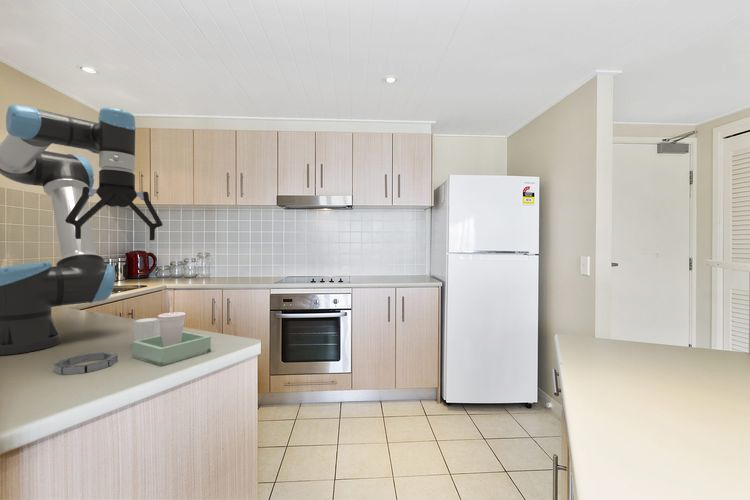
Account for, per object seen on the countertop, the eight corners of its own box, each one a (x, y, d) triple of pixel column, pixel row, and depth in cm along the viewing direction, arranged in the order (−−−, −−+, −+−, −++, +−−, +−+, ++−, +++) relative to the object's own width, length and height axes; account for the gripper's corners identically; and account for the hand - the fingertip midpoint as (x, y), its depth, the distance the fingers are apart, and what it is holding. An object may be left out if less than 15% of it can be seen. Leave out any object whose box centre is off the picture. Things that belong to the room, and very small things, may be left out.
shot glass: (150, 347, 97) (150, 322, 97) (126, 347, 98) (126, 322, 97) (166, 340, 104) (165, 317, 104) (143, 340, 104) (143, 317, 104)
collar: (47, 368, 81) (47, 362, 81) (102, 355, 90) (102, 349, 90) (67, 377, 75) (67, 370, 75) (124, 362, 85) (124, 356, 85)
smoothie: (178, 346, 96) (178, 295, 95) (190, 350, 92) (190, 297, 92) (153, 352, 90) (152, 298, 90) (164, 356, 87) (164, 300, 86)
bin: (131, 357, 89) (131, 341, 89) (181, 344, 100) (181, 330, 100) (160, 366, 82) (160, 349, 82) (210, 351, 94) (210, 336, 94)
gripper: (49, 161, 81) (49, 253, 82) (173, 175, 95) (172, 253, 95) (57, 166, 88) (57, 251, 88) (172, 178, 101) (171, 251, 102)
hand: (117, 252), depth 92 cm, fingers open, 13 cm apart
